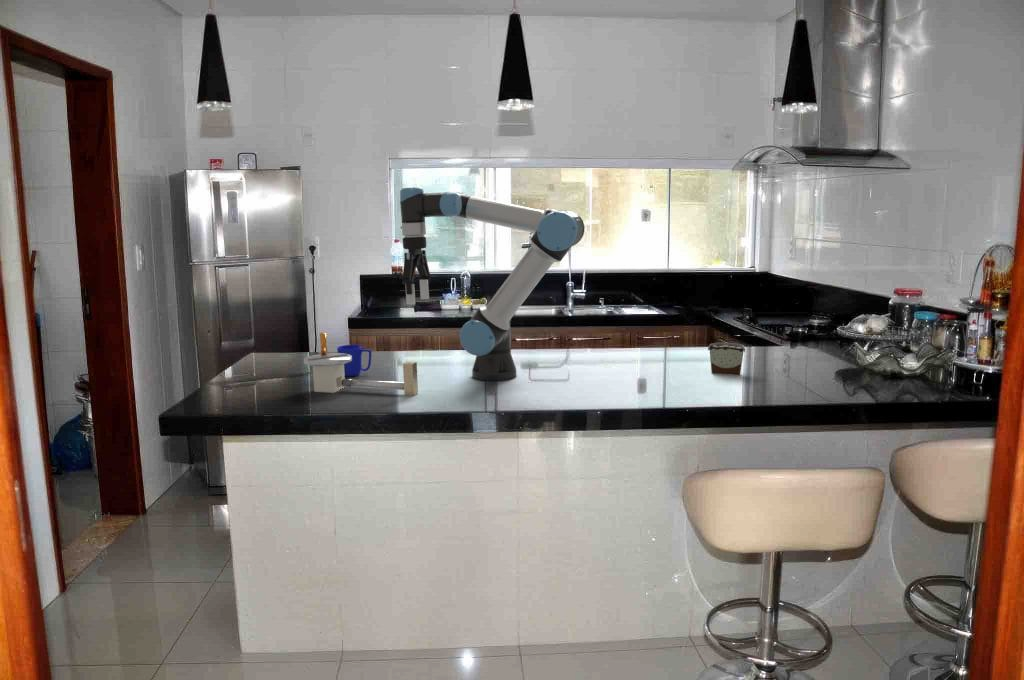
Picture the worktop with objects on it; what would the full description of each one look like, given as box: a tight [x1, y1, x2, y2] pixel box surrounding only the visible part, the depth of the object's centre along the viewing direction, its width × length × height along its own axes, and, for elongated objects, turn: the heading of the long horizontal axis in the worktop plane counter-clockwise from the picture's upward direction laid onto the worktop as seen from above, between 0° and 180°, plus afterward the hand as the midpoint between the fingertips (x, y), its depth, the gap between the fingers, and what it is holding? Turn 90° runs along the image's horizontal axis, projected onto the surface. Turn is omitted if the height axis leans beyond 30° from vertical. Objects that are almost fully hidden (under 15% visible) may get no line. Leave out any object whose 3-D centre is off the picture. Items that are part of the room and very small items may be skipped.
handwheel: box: [303, 332, 352, 367], centre depth 250 cm, size 15×15×8 cm
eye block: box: [312, 364, 346, 394], centre depth 252 cm, size 7×7×9 cm
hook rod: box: [342, 361, 419, 397], centre depth 247 cm, size 25×3×10 cm, turn 73°
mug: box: [336, 344, 372, 377], centre depth 272 cm, size 8×12×10 cm
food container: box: [707, 342, 746, 377], centre depth 264 cm, size 12×6×10 cm, turn 65°
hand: (418, 301), depth 255 cm, fingers open, 13 cm apart
